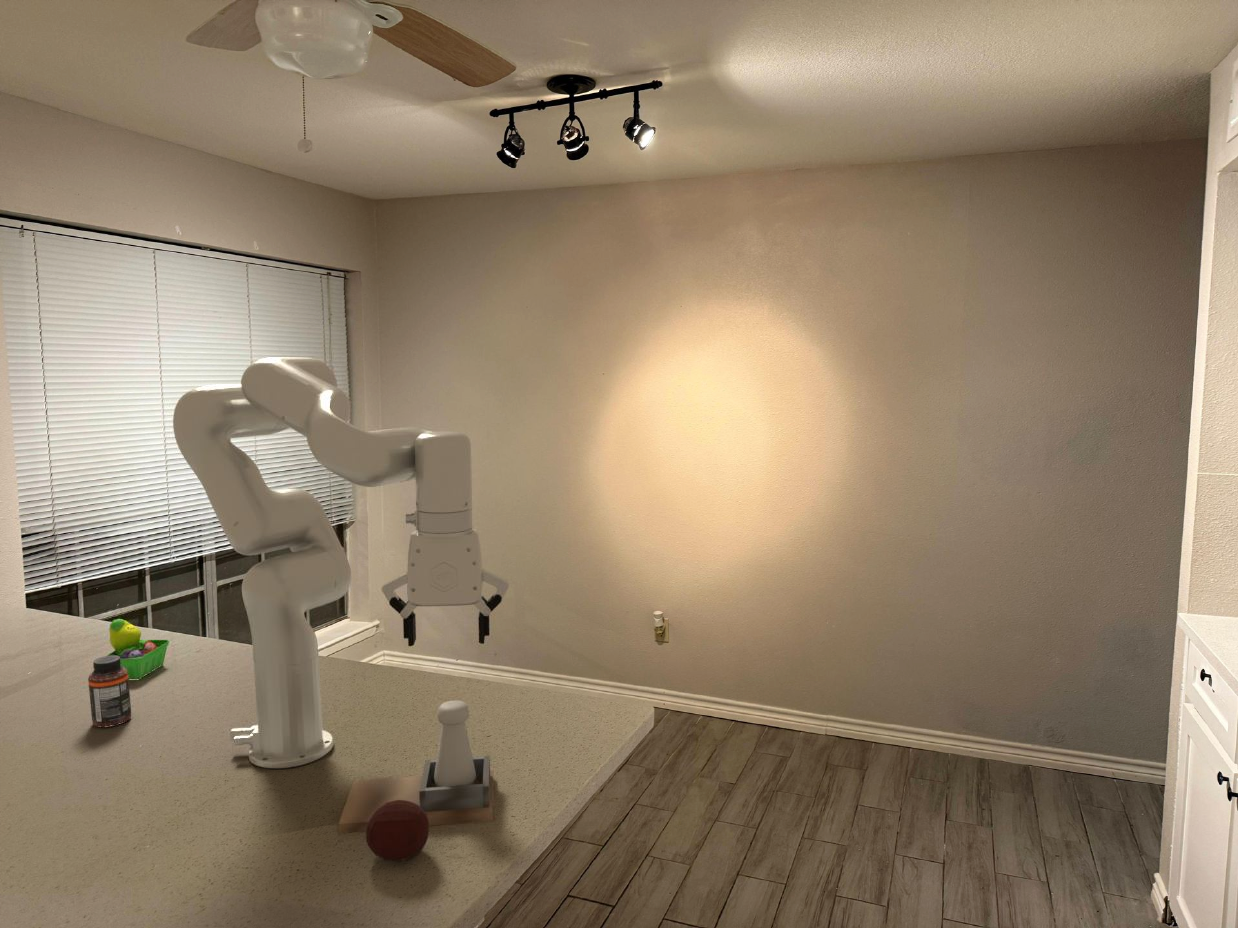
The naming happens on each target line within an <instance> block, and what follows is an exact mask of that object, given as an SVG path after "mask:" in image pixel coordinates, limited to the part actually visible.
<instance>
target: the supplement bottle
mask: <svg viewBox="0 0 1238 928" xmlns="http://www.w3.org/2000/svg"><path fill="white" fill-rule="evenodd" d="M120 664H121V662H120V657H119V656H107V655H106V656H101V657H98V658H96V659H94V660H93V671H92V672H91V673H90V674H89V675H88V677H87V679H88V680H87V681H88V690H89V693H88V694H89V701H90V712H91V713H90V715H91V721H92V725H93V726H94V725H95V726H94V727H97V726H101V727H100V728H106V727H105V726H110V725H117V724H119V723H122V722H124V721H126V722H128V721H129V720H130V719H131V718H130V717H132V704H131V694H130V693H131V692H130V683H129V682H130V681H129V679H128V672H127V670H126V669H125V668H124V667H122V666H121V665H120ZM129 718H130V719H129ZM128 719H129V720H128ZM127 720H128V721H127ZM124 723H125V722H124ZM122 724H123V723H122ZM117 726H118V725H117Z"/></svg>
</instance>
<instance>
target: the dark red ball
mask: <svg viewBox="0 0 1238 928" xmlns="http://www.w3.org/2000/svg"><path fill="white" fill-rule="evenodd" d="M429 834H430V826H429V821H428V818H427V814H426V813H425V811H424V810H423V809H422V808H421V807H420V806H419V805H417V804H415V803H413V802H410V801H406V800H395V801H391V802H388V803H386V804H384V805H383V806H381V807H380V808H378V809H377V811H376V812H375V813H374V814H373V816H372V817H371V818H370V820H369V822H368V825H367V828H366V831H365V842H366V845H367V847H368V848H369V849H370V851H371V852H372V853H373V854H375V856H377V857H378V858H381V859H383V860H385V861H393V862H397V861H398V862H399V861H404V860H405V861H406V860H408V859H411V858H413V857H415V856H417V855H418V854H419V853H420V852H422V851H423V849H424V848H425V847H426V844H427V842H428V839H429Z"/></svg>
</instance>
